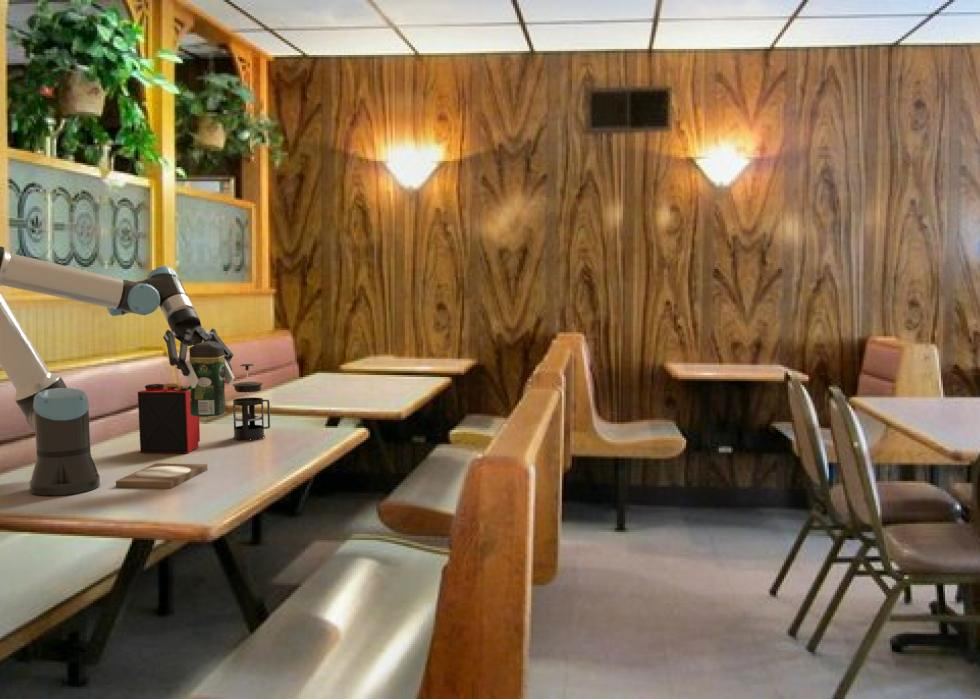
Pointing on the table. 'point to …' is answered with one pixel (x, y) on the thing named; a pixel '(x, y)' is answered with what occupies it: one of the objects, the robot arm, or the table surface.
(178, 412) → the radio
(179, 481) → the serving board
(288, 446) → the table surface
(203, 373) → the coffee jar
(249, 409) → the french press
